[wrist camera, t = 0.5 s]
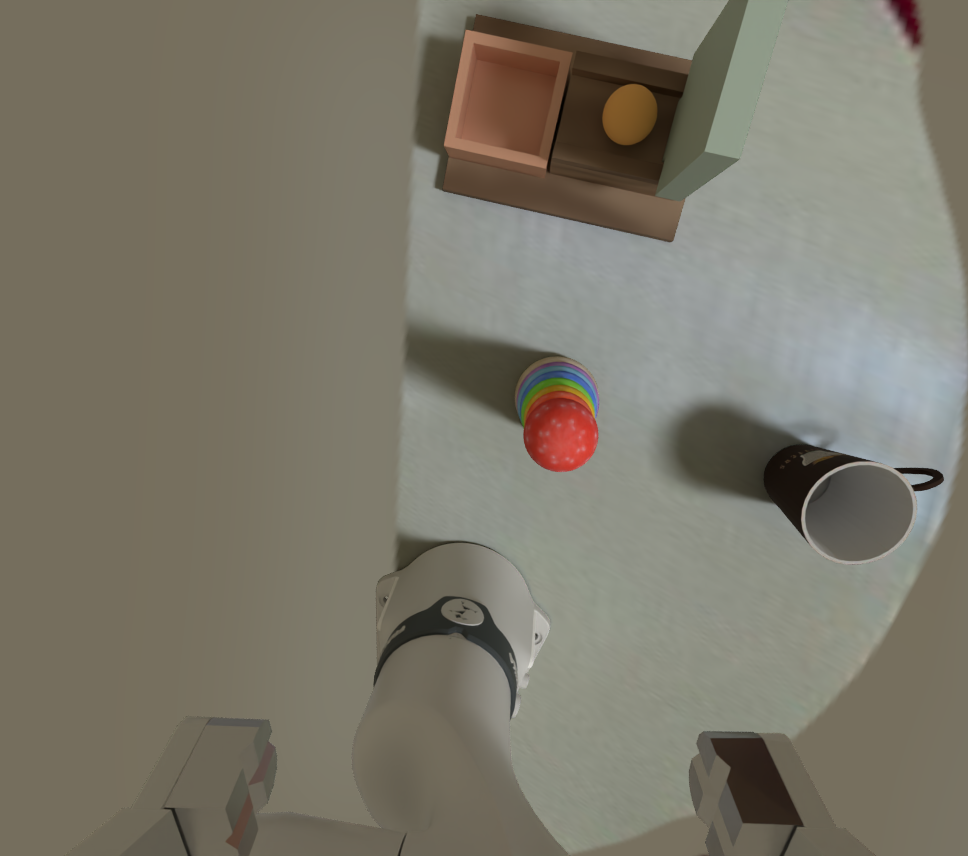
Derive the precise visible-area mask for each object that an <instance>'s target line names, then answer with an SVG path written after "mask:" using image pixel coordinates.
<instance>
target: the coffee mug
mask: <svg viewBox="0 0 968 856" xmlns="http://www.w3.org/2000/svg"><path fill="white" fill-rule="evenodd" d="M902 474H925V475H929V476H932V477H934V478H933V479H931V480H930V481H928V482H925V483H921V484H915V485H910V483H909V482H908V480H907V479H906V478H905V477H904V476H903V475H902ZM943 481H944V478H943V474H941V473H940V472H939V471H937V470H934V469H928V468H892V467H890V466H887V465H884V464H882V463H878V462H874V461H870V460H866V459H862V458H858V457H854V456H850V455H846V454H842V453H838V452H834V451H830V450H826V449H822V448H818V447H814V446H810V445H793V446H789V447H787V448H784V449H782V450H781V451H779V452H778V453H777V454H775V455H774V456H773V457H772V459H771V460H770V461H769V463H768V464H767V466H766V469H765V472H764V486H765V488H766V491H767V493H768V494H769V496H770V497H771V498H772V500H773V501H774V502H775V503H776V504H777V506H778V507H779V508H780V509H781V511H782V512H783V513H784V514H785V515H786V517H787V518H788V519H789V520H790V521H791V523H792V524H793V525H794V526H795V527H796V529H797V530H798V531H799V532H800V533H801V535H802V536H803V537H804V538H805V540H806V541H807V542H808V543H809V544H810V546H811V547H812V548H813V549H814V550H815V551H816V552H817V553H818V554H820V555H822V556H823V557H825V558H826V559H829V560H831V561H834V562H837V563H842V564H848V565H855V564H864V563H870V562H873V561H876V560H879V559H881V558H883V557H885V556H887V555H888V554H890V553H892V552H893V551H894V550H895V549H897V548H898V547H899V546H900V545H901V544H902V543H903V542H904V540H905V539H906V538H907V537H908V535H909V533H910V532H911V530H912V528H913V525H914V522H915V520H916V514H917V501H916V496H915V493H914V491H923V490H928V489H931V488H933V487H936V486H938V485H940V484H941V483H942V482H943Z"/></svg>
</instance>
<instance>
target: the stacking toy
mask: <svg viewBox="0 0 968 856" xmlns="http://www.w3.org/2000/svg"><path fill="white" fill-rule="evenodd" d="M515 406H516V410H517V413H518V415H519V418H520V420H521V423H522V425H523V428H524V443H525V447H526V449H527V452H528V453H529V455H530V456H531V458H532V459H533V460H534V461H535V462H536V463H537V464H538V465H540V466H541V467H543V468H545V469H548V470H551V471H555V472H566V471H571V470H574V469H577V468H579V467H581V466H582V465H584V464H585V463H586V462H587V461H588V460H589V459H590V458H591V456H592V455H593V453H594V451H595V449H596V446H597V443H598V428H597V424H596V421H595V418H596V416H597V413H598V409H599V392H598V387H597V384H596V381H595V379H594V377H593V376H592V374H591V373H590V372H589V371H588V369H587V368H585V367H584V366H583V365H582V364H580V363H579V362H577V361H575V360H573V359H570V358H566V357H559V356H556V357H547V358H544V359H541V360H538V361H536V362H535V363H533V364H532V365H530V366H529V367H528V368H527V369H526V370H525V371H524V372H523V374H522V375H521V377H520V378H519V380H518V383H517V385H516V389H515Z"/></svg>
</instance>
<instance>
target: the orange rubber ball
mask: <svg viewBox="0 0 968 856" xmlns="http://www.w3.org/2000/svg"><path fill="white" fill-rule="evenodd" d="M656 119H657V103H656V100H655V98H654V96H653V94H652V93H651V92H650V91H649V90H648V89H647V88H646V87H644V86H642V85H638V84H629V85H625V86H623V87H620V88H619V89H617V90H616V91H615V92H614V93H613V94H612V95H611V96H610V97H609V99H608V100H607V102H606V104H605V107H604V110H603V117H602V120H603V127H604V130H605V132H606V134H607V135H608V137H609V138H610V139H611V140H612V141H614V142H616V143H618V144H621V145H632V144H636V143H638V142H640V141H642V140H643V139H644V138H645V137H646V136H647V135H648V134H649V133H650V132H651V130H652V129H653V127H654V125H655V122H656Z"/></svg>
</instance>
